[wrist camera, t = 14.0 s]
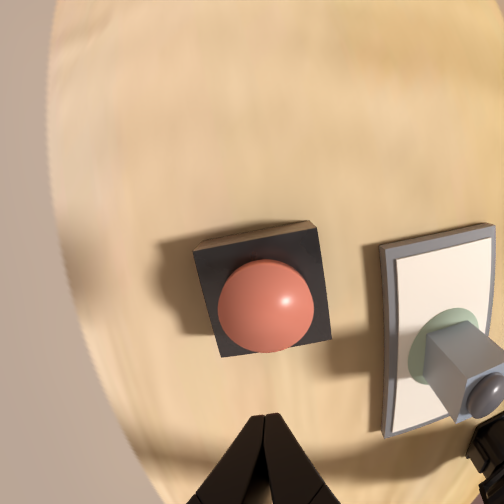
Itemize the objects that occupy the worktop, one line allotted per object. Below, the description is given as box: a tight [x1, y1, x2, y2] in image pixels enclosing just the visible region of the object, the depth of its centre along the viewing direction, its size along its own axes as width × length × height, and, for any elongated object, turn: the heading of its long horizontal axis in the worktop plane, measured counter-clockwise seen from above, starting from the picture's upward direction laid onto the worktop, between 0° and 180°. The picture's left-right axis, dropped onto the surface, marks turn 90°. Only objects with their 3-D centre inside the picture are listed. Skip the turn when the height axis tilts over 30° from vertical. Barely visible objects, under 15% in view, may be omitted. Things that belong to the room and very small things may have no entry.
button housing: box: [193, 221, 332, 358], centre depth 19 cm, size 7×7×3 cm
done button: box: [218, 259, 314, 353], centre depth 18 cm, size 5×5×4 cm
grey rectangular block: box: [423, 320, 504, 424], centre depth 16 cm, size 4×4×7 cm
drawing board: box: [379, 223, 496, 439], centre depth 21 cm, size 10×18×2 cm, turn 12°
